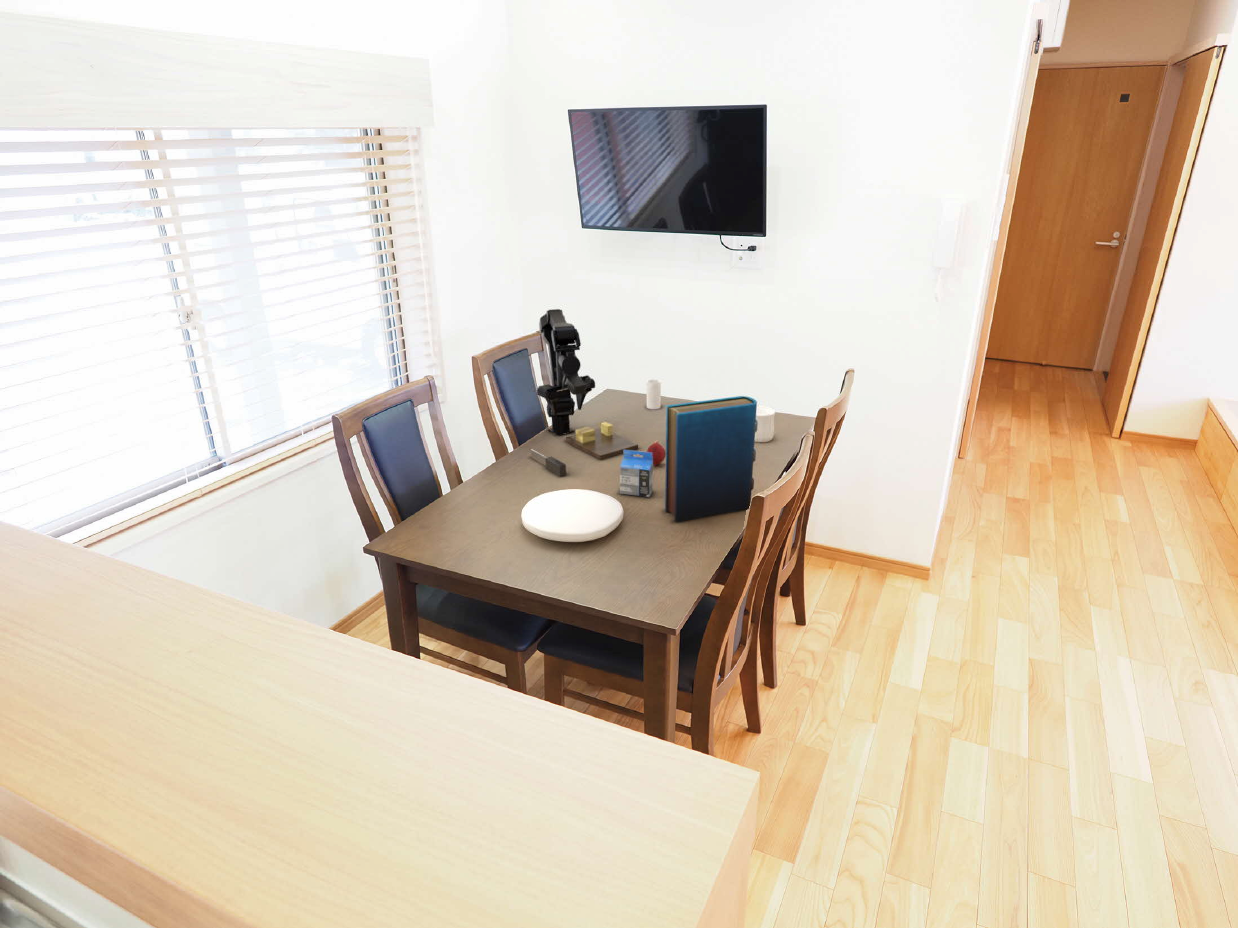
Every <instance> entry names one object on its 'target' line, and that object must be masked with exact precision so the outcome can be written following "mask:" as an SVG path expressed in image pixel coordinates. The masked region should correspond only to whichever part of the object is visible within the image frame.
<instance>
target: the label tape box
mask: <svg viewBox="0 0 1238 928" xmlns="http://www.w3.org/2000/svg"><path fill="white" fill-rule="evenodd" d="M623 452H624V453H623V457H622V460H621V462H620V465H619V494H620V495H628V496H629V495H630V496H638V497H645V498H650V497H651V495H652V493H653V488H654V487H653V485H654V484H653V481H654V479H653V478H654V477H653V476H654V475H653V474H654V473H653V472H654V471H653V470H654V464H653V457H652V453H650V452H647V451H641V450H633V451H632V450H623ZM637 455H638V456H637Z"/></svg>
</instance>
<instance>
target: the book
mask: <svg viewBox="0 0 1238 928" xmlns="http://www.w3.org/2000/svg"><path fill="white" fill-rule="evenodd" d="M757 406H758V401H757V400H756V399H755V398H753V397H750V396H745V395H738V396H730V397H723V398H716V399H715V398H714V399H708V400H699V401H691V402H685V403H684V402H683V403H677V404H676V403H675V404H670V405H666V407H665V408H666V409H665V410H666V411H665V412H666V413H665V414H666V415H665V416H666V419H665V453H666V455H665V482H664V483H665V484H664V488H665V489H664V491H665V493H664V512H665V513H671V514H673V516H674V522H675V523H681V522H687V521H691V520H697V519H702V518H703V519H704V518H708V517H714V516H719V515H725V514H730V513H736V512H741V511H747V510H750V508H749V506H750V503H751V504H752V491H753V490H754V488H755V487H754V486H755V479H754V477H753V473H754V472H753V470H754V463H755V462H756V457H757V449H756V448H755V442H754V441H755V432H756V431H757V426H758V421H757V420H756V408H757ZM750 507H751V506H750Z"/></svg>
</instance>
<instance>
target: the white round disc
mask: <svg viewBox="0 0 1238 928" xmlns="http://www.w3.org/2000/svg"><path fill="white" fill-rule="evenodd" d="M624 513H625V512H624V508H623V506H622V504H621V503H620V501H619V500H617V499H616V498H614V497H612V496H611V495H608V494H605V493H603V492H599V491H595V490H590V489H579V488H576V489H575V488H573V489H571V488H569V489H560V490H554V491H549V492H545V493H542V494H540V495H537V496H536V497H533V498H532V499H530V500H529V501H528V502H527V503H526V504H525V506H524V507H523V508H522V511H521V513H520V514H521V515H520V517H521V522H522V525H523V527H524V528H525V530H527V531H528V532H530V533H531V534H533V535H535V536H537V537H539V538H542V539H546V540H549V541H555V542H566V543H583V542H588V541H589V542H590V541H595V540H598V539H600V538H604V537H606V536H607V535H608V534H610V533H611V532H613V531H614V530H616V529H617V528H618V527H619V526H620V524H621V522H622V521H623V519H624Z"/></svg>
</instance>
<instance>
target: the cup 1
mask: <svg viewBox="0 0 1238 928" xmlns="http://www.w3.org/2000/svg"><path fill="white" fill-rule="evenodd" d="M661 387H662V381H661V379H657V378H651V379H647V380H646V408H647V409H648V410H659V409H661V403H662V402H661V400H662V399H661V397H662V395H661V394H662V393H661V391H662V389H661Z"/></svg>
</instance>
